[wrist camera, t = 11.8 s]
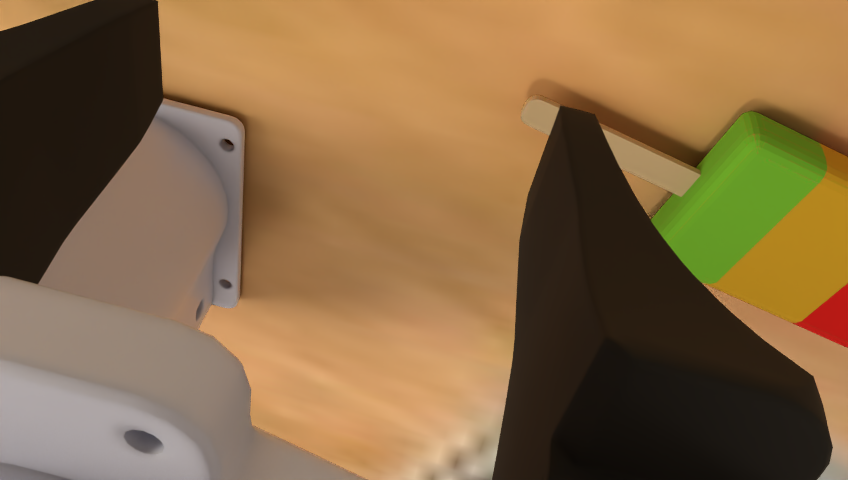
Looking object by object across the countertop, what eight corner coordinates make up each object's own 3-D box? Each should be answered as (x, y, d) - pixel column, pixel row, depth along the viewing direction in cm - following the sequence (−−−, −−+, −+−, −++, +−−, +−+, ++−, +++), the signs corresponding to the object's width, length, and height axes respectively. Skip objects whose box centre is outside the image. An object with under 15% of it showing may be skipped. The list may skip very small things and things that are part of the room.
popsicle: (868, 328, 28) (881, 369, 26) (487, 155, 26) (480, 189, 24) (1004, 226, 24) (1028, 267, 23) (572, 14, 22) (569, 45, 20)
